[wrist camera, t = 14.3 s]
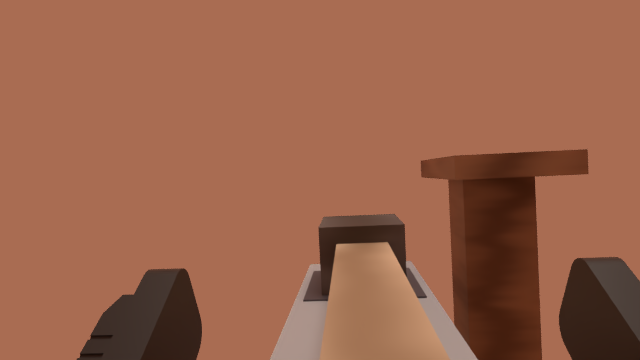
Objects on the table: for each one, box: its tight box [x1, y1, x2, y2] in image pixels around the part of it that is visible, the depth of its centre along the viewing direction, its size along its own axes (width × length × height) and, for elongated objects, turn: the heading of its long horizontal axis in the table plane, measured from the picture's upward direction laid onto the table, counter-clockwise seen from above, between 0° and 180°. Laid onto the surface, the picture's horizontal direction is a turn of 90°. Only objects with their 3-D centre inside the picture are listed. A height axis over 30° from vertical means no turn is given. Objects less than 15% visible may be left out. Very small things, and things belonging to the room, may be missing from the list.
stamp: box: [319, 214, 450, 360], centre depth 22 cm, size 5×24×4 cm, turn 176°
